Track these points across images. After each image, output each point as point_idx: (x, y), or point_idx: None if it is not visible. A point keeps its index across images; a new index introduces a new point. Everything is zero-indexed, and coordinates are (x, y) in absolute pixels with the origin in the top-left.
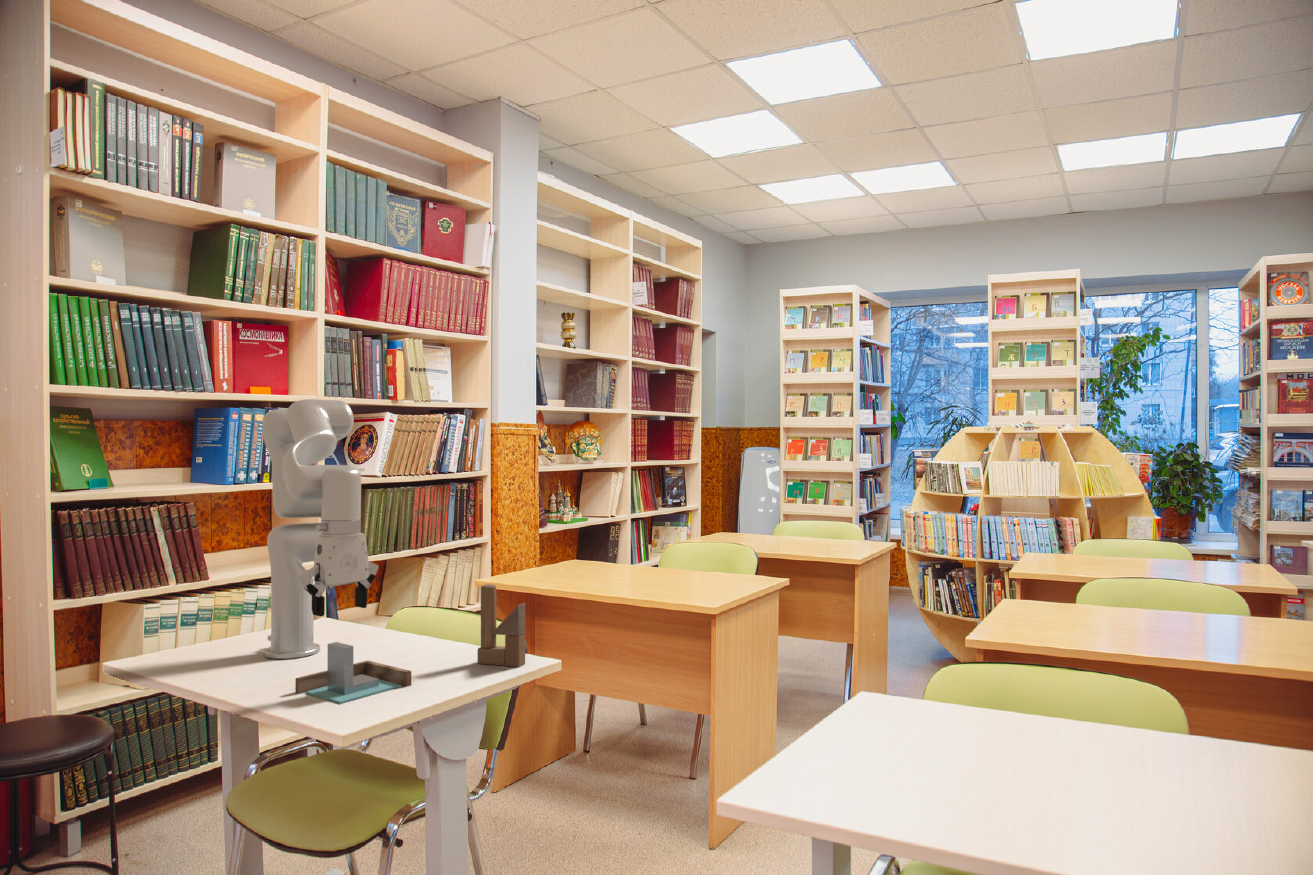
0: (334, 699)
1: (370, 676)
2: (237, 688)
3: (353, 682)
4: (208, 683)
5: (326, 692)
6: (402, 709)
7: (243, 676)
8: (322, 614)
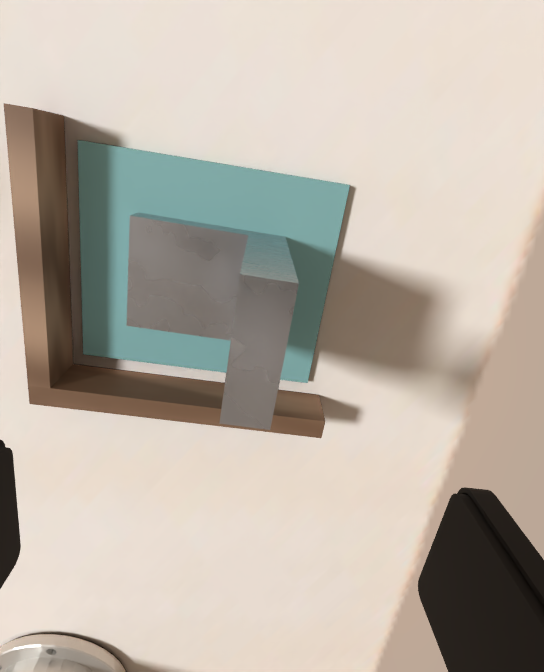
0: (337, 229)
1: (71, 342)
2: (346, 555)
3: (219, 267)
4: (342, 627)
5: None
6: None
7: (264, 614)
8: (488, 495)
